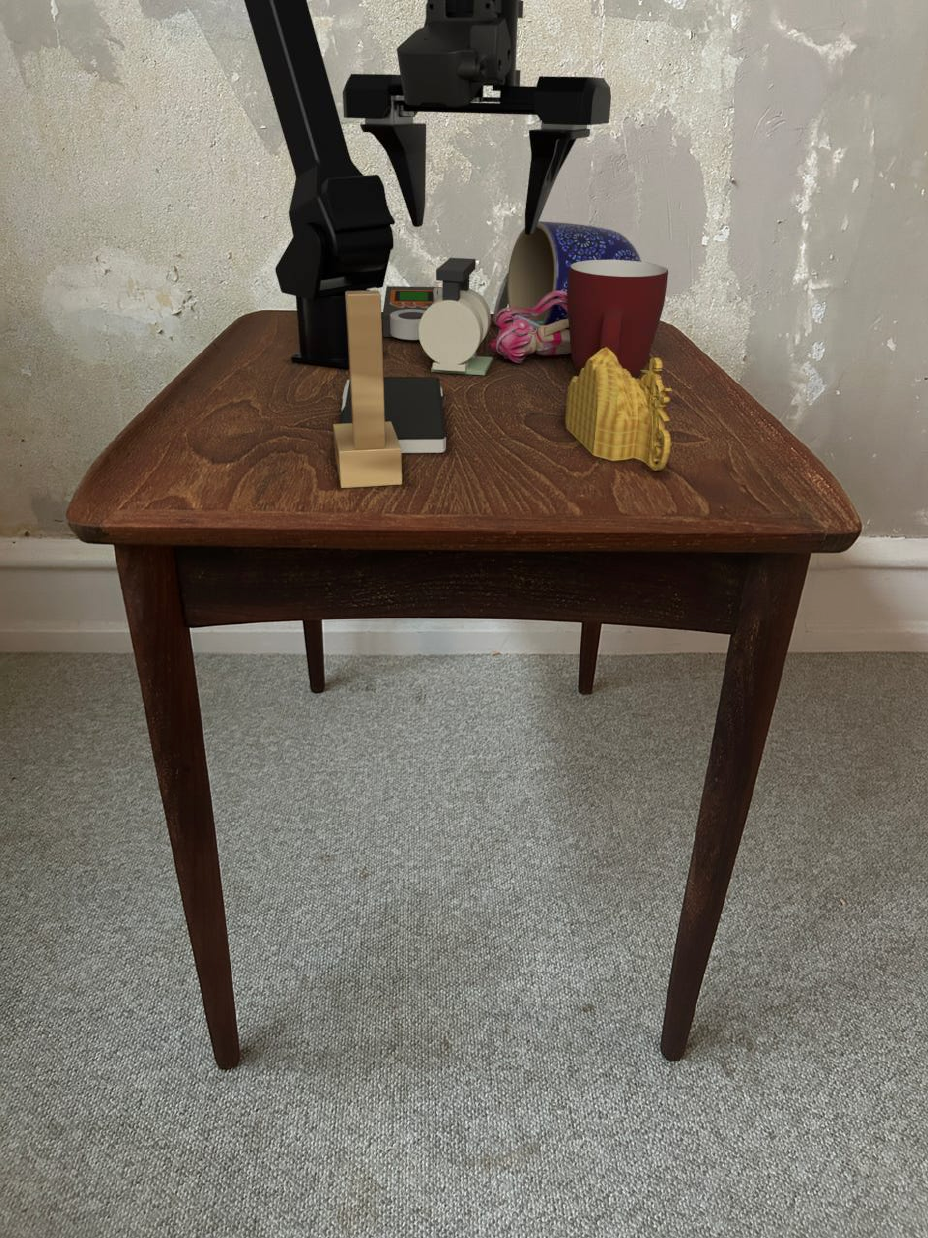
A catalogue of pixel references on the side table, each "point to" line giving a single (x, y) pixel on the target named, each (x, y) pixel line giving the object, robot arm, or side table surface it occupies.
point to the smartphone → (410, 412)
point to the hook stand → (366, 402)
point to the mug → (615, 310)
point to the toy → (532, 331)
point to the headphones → (454, 318)
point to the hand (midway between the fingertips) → (472, 230)
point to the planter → (557, 262)
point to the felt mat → (473, 366)
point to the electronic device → (406, 309)
